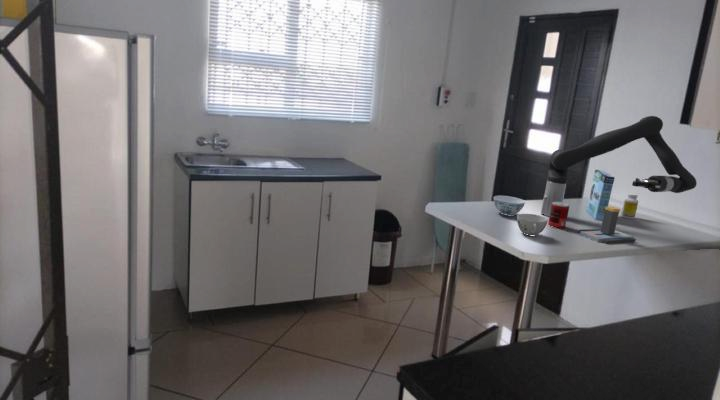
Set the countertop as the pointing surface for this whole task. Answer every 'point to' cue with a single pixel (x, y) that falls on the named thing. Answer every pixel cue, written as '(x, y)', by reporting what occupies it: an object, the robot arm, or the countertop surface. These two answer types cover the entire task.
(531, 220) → the teacup
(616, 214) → the block
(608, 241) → the dark grey long bar
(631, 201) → the supplement bottle
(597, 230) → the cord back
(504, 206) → the chinaware
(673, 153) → the robot arm
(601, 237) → the blue rectangular board
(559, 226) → the canned food
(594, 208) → the gum box
